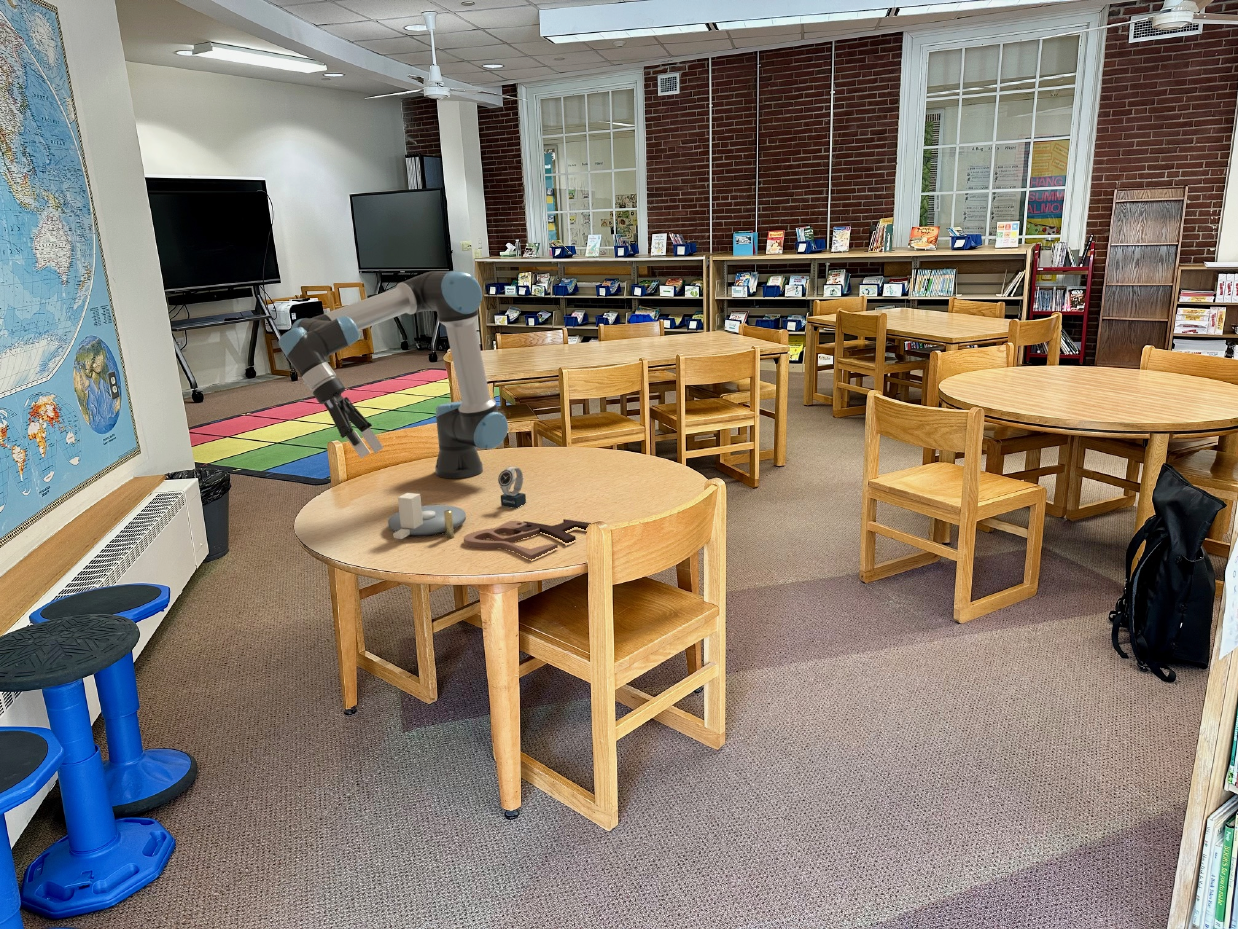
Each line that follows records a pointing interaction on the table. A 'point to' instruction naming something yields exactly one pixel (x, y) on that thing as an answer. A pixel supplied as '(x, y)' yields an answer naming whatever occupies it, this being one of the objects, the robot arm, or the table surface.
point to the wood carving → (522, 536)
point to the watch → (506, 481)
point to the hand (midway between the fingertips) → (372, 453)
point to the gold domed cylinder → (449, 524)
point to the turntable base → (428, 534)
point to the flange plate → (431, 522)
